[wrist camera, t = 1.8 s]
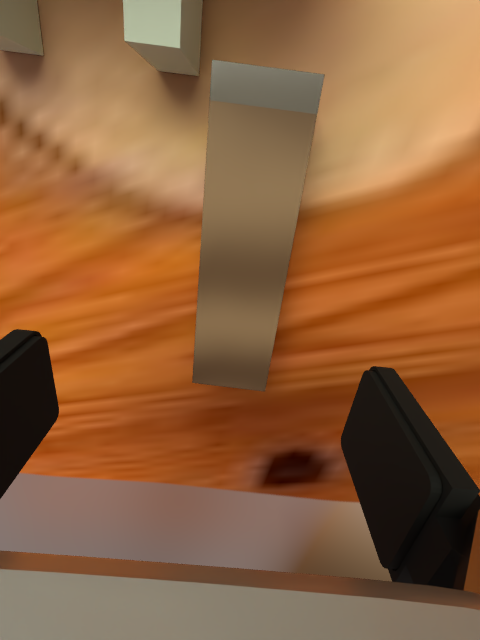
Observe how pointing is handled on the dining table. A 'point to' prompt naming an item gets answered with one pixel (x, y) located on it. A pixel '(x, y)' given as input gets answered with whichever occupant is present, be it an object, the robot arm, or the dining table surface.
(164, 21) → the pale grey legged piece
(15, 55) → the dining table surface
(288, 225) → the rail
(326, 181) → the dining table surface
